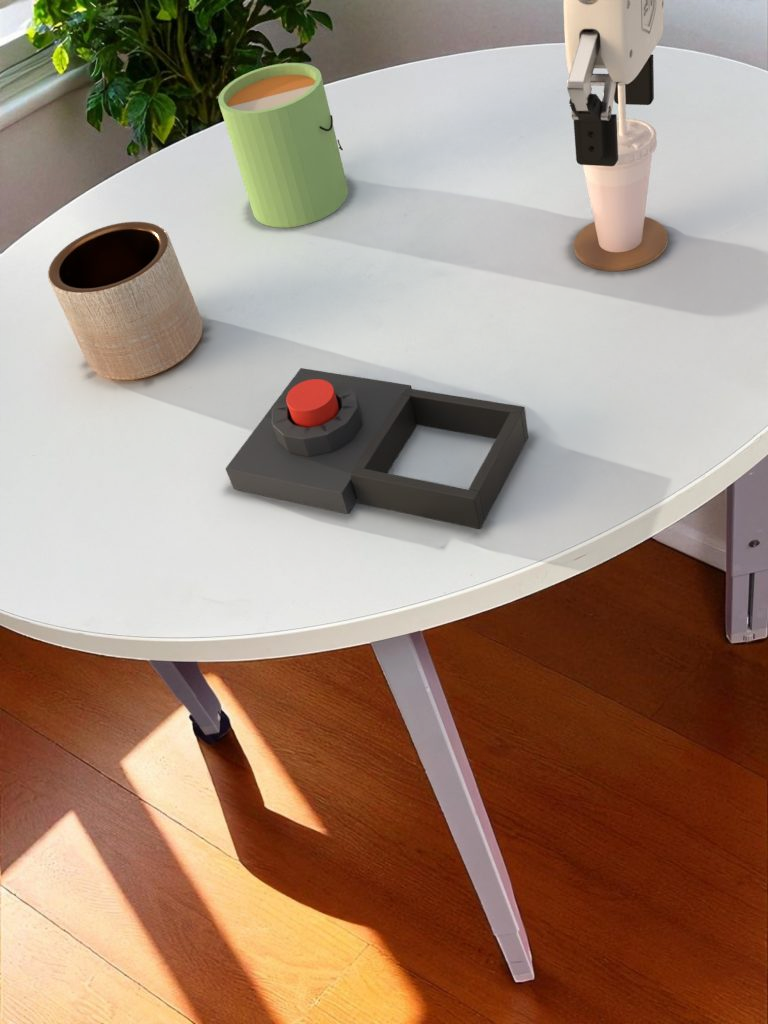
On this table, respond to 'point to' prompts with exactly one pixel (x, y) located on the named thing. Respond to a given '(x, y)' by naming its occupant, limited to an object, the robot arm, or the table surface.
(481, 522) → the frame
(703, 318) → the table surface
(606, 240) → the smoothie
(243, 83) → the mug
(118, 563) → the table surface
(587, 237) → the coaster
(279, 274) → the table surface
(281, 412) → the button base
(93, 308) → the planter
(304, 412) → the stop button
